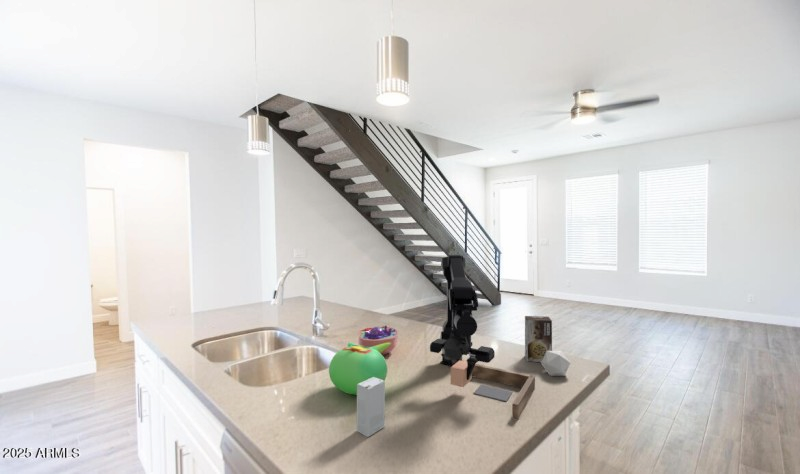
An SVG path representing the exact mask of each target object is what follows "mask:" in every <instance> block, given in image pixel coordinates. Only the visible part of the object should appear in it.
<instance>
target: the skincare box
mask: <svg viewBox="0 0 800 474" xmlns="http://www.w3.org/2000/svg"><path fill="white" fill-rule="evenodd" d="M385 384H386V381H384V380H381V379H378V378H375V377H372V378H370V379H368V380H366V381H363V382H361V383H359V384H357V395H356V431H357V432H358V433H360V434H361V435H363V436H365V437H367V438H368V437H370V436H372V435H374V434H376V432H378V431H380V430H381V429H383V428H385V426H386V425H385V420H386V419H385V418H386V416H385V411H386V409H385V408H386V407H385V400H386V399H385V397H386V396H385V395H386V394H385V393H386V392H385V391H386V390H385V389H386V385H385Z"/></svg>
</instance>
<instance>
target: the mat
mask: <svg viewBox="0 0 800 474" xmlns="http://www.w3.org/2000/svg"><path fill="white" fill-rule="evenodd" d="M513 394H514V393H513V391H511V390H506V389H502V388H497V387H494V386H489V385H485V384H480V385H479V386H478V387H477V389H476V390H475V391H474V392H473V395H477V396H481V397H485V398H489V399H493V400H498V401H501V402H505V403H507V402H508V401H509V399H510V398H511V396H512V395H513Z"/></svg>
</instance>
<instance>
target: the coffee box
mask: <svg viewBox="0 0 800 474" xmlns="http://www.w3.org/2000/svg"><path fill="white" fill-rule="evenodd" d="M546 351H553V320H552V319H551V318H550V317H549V316H544V315H543V316H542V315H541V316H539V315H537V316H536V315H533V316H532V315H525V316H524V357H525V359H526V362H533V363H534V362H537V363H541V362H542V360H543V358H544V356H545V353H546Z"/></svg>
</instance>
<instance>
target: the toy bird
mask: <svg viewBox="0 0 800 474" xmlns="http://www.w3.org/2000/svg"><path fill="white" fill-rule="evenodd" d="M390 345H391V343H384V344H380V345H376V346H373V347H367V346H359V344H358V345H357V344H356V343H354V342H351V341H349V342H348V343H347V346H346V347H344V348H342V349H340V350H338V351H337V352H336V353H335V354H334V356H333V357H332V359H331V360H330V363H329V366H328V374H329V378H330V381H331V382H332V384H333V385H334V386H335V387H336V388H337V389H338V390H340V391H341V392H343V393H346V394H349V395H356V396H357V384H359V383H361V382H363V381H366V380H368V379H370V378H372V377H375V378H378V379H381V380H384V381H385V380H386V377H387V375H388V365H387V361H386V358H385V357H384V356H383V355H381V354H380V353H381V352H382V351H383V350H385V349H386V348H387V347H389V346H390ZM385 382H386V381H385Z"/></svg>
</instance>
